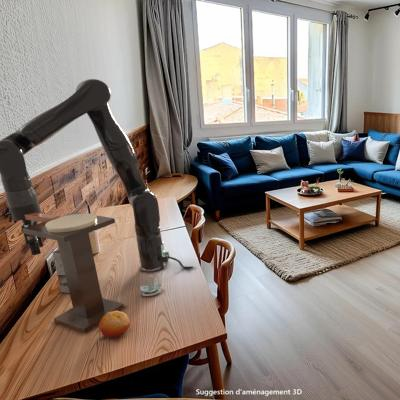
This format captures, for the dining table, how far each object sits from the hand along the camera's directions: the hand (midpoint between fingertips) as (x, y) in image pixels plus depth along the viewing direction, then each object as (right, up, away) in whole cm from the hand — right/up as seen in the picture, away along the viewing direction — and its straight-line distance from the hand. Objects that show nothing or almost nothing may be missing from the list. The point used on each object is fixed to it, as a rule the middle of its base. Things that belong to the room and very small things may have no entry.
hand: (38, 250), depth 113 cm
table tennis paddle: (+13, +10, -9) cm, 18 cm away
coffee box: (+3, -16, +17) cm, 23 cm away
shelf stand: (+17, -21, 0) cm, 27 cm away
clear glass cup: (+32, -17, +12) cm, 38 cm away
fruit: (+31, -24, -10) cm, 40 cm away
